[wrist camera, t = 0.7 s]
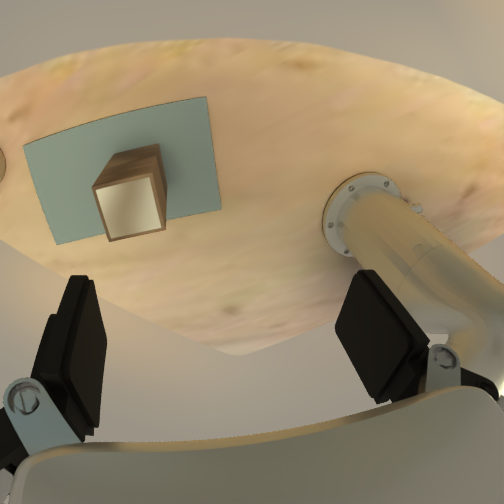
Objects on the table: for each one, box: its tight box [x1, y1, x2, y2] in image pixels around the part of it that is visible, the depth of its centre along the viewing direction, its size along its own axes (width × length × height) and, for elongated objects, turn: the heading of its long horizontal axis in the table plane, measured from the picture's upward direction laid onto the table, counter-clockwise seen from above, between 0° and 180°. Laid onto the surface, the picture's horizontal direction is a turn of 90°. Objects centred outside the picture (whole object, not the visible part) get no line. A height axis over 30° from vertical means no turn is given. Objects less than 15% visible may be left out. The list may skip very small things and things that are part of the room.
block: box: [91, 143, 168, 242], centre depth 27 cm, size 5×5×10 cm
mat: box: [23, 97, 221, 245], centre depth 31 cm, size 21×13×1 cm, turn 95°
